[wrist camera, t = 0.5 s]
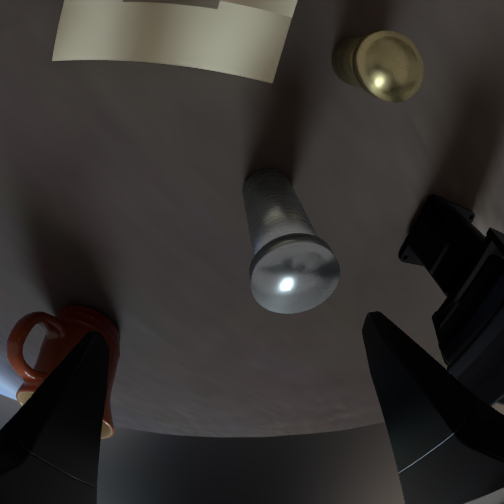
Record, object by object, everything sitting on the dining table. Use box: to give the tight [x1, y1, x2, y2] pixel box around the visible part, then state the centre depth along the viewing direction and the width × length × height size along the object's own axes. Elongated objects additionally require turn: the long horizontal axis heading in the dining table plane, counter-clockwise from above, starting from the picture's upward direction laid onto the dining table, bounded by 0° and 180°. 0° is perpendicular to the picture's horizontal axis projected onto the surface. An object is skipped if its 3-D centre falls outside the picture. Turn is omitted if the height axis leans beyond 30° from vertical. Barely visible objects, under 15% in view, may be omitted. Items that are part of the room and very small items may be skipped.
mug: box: [6, 305, 120, 439], centre depth 21 cm, size 12×9×10 cm
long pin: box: [243, 168, 340, 314], centre depth 16 cm, size 4×4×9 cm
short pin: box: [332, 31, 424, 102], centre depth 13 cm, size 4×4×5 cm
